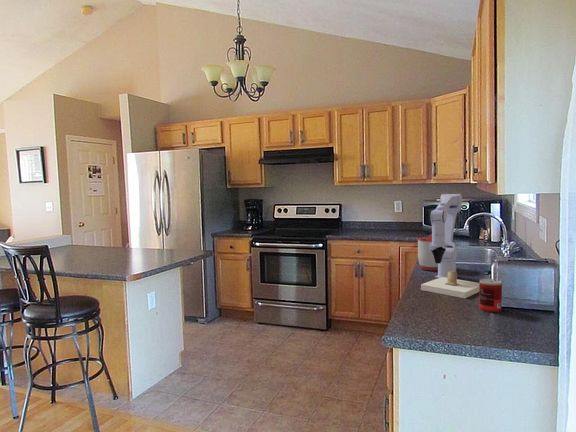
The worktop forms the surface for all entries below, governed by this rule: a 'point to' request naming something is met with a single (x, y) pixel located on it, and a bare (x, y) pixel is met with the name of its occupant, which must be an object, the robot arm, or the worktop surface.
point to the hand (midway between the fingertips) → (438, 263)
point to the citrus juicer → (426, 254)
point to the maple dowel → (452, 278)
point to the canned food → (490, 295)
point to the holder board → (451, 287)
